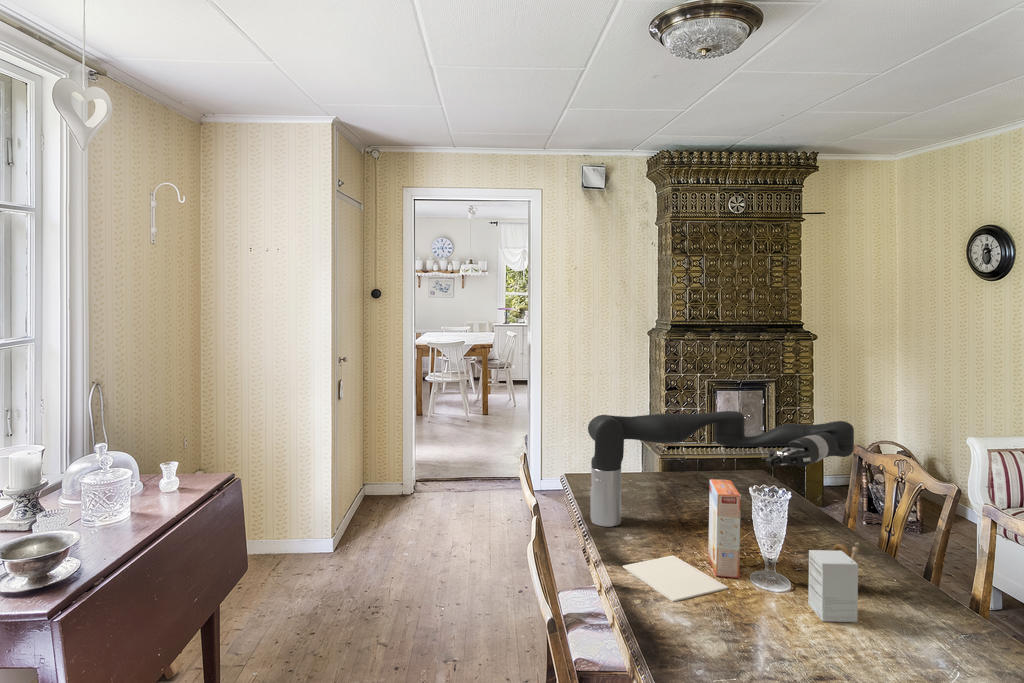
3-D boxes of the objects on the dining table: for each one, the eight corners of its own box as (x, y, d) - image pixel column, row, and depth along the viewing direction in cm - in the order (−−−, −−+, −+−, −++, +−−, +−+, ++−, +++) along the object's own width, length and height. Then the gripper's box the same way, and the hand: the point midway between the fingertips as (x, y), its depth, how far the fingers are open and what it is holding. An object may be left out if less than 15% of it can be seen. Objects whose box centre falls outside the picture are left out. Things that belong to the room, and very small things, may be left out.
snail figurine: (850, 596, 134) (851, 545, 133) (824, 585, 139) (824, 536, 139) (864, 591, 136) (865, 540, 136) (838, 580, 142) (839, 532, 141)
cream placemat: (622, 567, 150) (622, 565, 150) (673, 556, 156) (673, 555, 156) (672, 601, 132) (672, 600, 132) (727, 588, 138) (727, 586, 138)
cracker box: (740, 579, 143) (741, 494, 142) (715, 577, 144) (715, 493, 143) (731, 556, 157) (732, 479, 156) (707, 554, 158) (708, 477, 157)
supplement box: (841, 606, 130) (843, 549, 129) (858, 623, 122) (859, 564, 122) (807, 604, 130) (808, 548, 130) (821, 621, 123) (822, 562, 122)
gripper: (784, 435, 171) (746, 447, 163) (828, 439, 160) (789, 452, 151) (787, 460, 171) (749, 473, 163) (831, 466, 160) (793, 480, 151)
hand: (768, 463), depth 157 cm, fingers closed
